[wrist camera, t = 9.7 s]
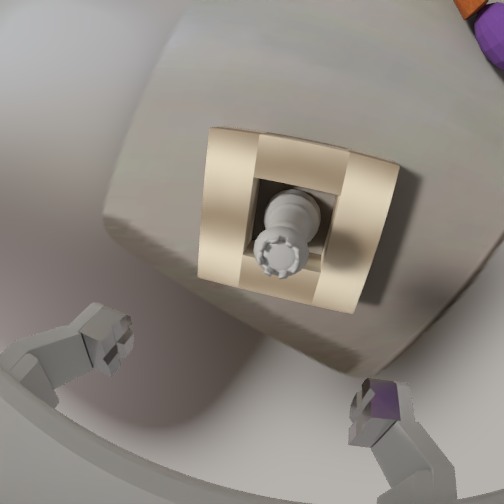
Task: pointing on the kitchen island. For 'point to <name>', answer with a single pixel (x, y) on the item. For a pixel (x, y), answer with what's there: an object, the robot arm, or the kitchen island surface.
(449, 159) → the kitchen island surface
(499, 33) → the purple maraca
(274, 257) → the rook chess piece
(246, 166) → the square wooden frame
